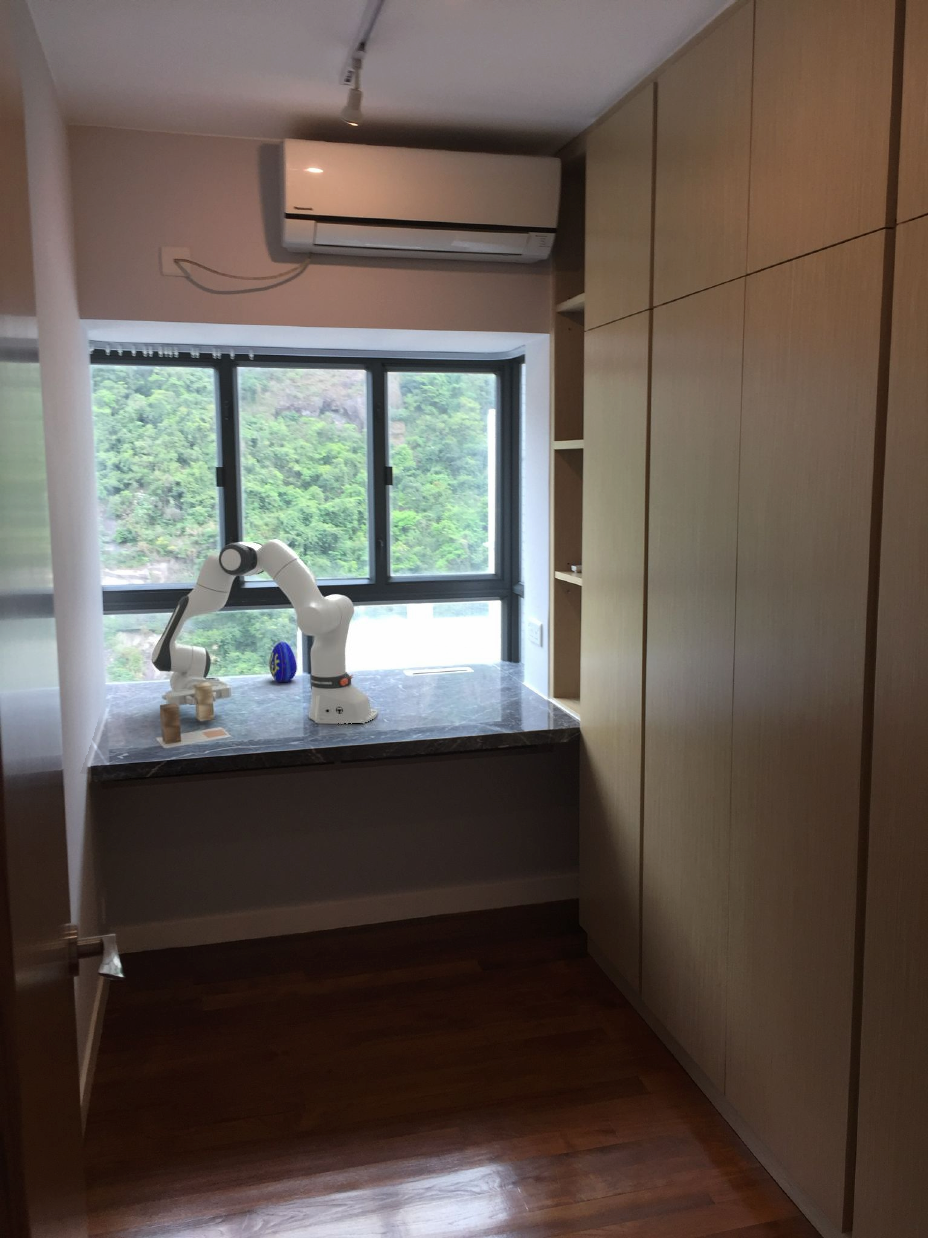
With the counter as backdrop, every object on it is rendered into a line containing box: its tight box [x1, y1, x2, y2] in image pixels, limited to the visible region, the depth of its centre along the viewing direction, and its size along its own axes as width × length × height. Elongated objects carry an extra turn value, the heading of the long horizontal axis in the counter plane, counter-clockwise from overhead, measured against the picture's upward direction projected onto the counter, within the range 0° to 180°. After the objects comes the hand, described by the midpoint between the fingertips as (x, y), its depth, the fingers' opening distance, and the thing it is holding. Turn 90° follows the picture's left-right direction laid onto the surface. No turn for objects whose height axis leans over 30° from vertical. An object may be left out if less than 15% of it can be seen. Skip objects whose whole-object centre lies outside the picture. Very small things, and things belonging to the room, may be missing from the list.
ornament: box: [268, 641, 298, 683], centre depth 350 cm, size 11×9×15 cm
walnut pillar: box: [159, 703, 182, 744], centre depth 282 cm, size 4×4×11 cm
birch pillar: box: [194, 682, 215, 722], centre depth 297 cm, size 4×4×11 cm
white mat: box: [155, 726, 232, 749], centre depth 286 cm, size 20×11×1 cm, turn 121°
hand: (204, 700), depth 296 cm, fingers closed on birch pillar, 4 cm apart
